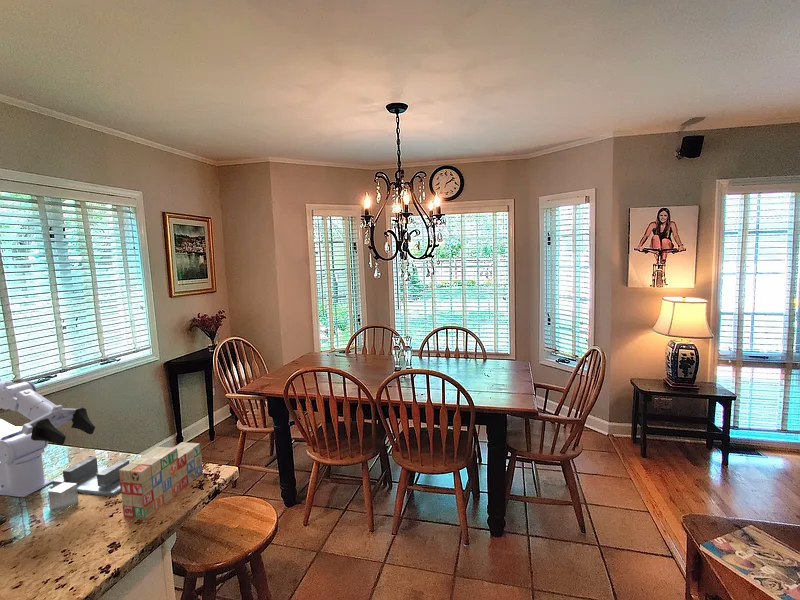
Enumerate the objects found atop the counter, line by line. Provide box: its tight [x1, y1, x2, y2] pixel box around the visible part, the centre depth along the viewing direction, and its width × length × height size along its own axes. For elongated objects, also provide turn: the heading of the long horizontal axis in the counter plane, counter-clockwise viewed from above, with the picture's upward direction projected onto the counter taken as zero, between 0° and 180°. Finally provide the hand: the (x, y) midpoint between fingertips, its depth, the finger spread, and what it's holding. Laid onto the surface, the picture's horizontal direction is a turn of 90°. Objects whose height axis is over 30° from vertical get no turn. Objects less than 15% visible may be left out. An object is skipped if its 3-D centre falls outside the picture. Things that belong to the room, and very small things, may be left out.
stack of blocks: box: [119, 441, 204, 520], centre depth 109 cm, size 21×6×12 cm, turn 169°
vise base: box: [49, 456, 121, 497], centre depth 116 cm, size 20×11×5 cm, turn 79°
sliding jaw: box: [97, 459, 130, 487], centre depth 115 cm, size 2×8×4 cm, turn 170°
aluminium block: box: [47, 482, 79, 512], centre depth 105 cm, size 4×4×5 cm
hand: (78, 435), depth 106 cm, fingers open, 7 cm apart
